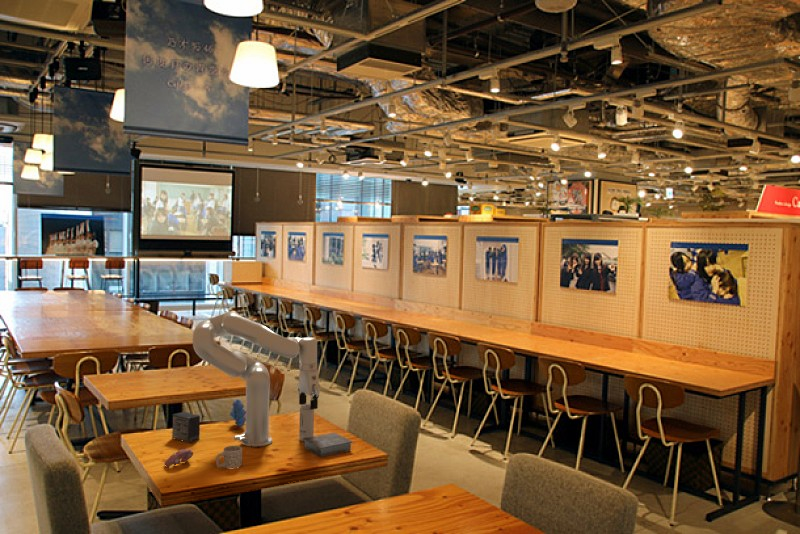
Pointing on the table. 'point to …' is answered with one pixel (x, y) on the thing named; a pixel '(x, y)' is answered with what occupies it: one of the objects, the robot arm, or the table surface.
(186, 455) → the purple oval lump
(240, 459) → the mug
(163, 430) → the table surface
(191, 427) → the small box
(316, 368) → the robot arm
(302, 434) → the energy drink can
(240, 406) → the grapes
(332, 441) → the stand
